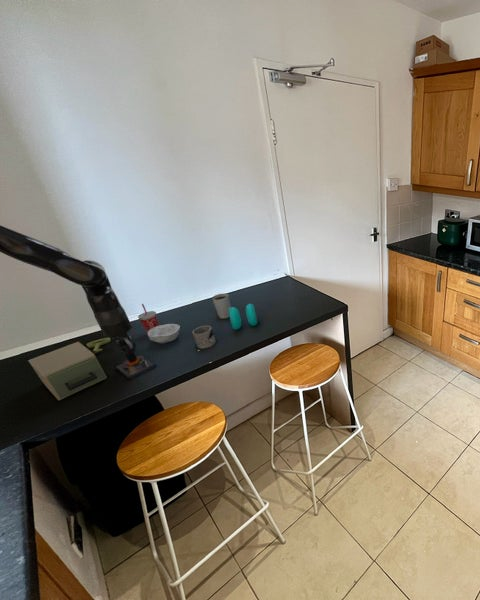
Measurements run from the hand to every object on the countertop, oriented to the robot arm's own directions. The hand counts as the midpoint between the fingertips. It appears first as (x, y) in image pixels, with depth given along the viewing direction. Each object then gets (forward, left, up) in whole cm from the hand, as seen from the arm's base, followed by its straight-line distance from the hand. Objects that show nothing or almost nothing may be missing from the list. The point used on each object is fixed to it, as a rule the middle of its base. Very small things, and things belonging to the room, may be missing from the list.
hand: (133, 360), depth 112 cm
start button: (0, 0, -2) cm, 2 cm away
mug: (+23, -5, -4) cm, 24 cm away
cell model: (+15, +10, -4) cm, 18 cm away
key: (-2, +28, -4) cm, 28 cm away
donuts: (+39, -8, -4) cm, 40 cm away
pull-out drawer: (-14, +6, -3) cm, 16 cm away
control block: (0, 0, -3) cm, 3 cm away
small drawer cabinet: (-14, +10, -3) cm, 18 cm away
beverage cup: (+15, +21, -4) cm, 26 cm away
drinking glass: (+40, +9, -4) cm, 41 cm away
